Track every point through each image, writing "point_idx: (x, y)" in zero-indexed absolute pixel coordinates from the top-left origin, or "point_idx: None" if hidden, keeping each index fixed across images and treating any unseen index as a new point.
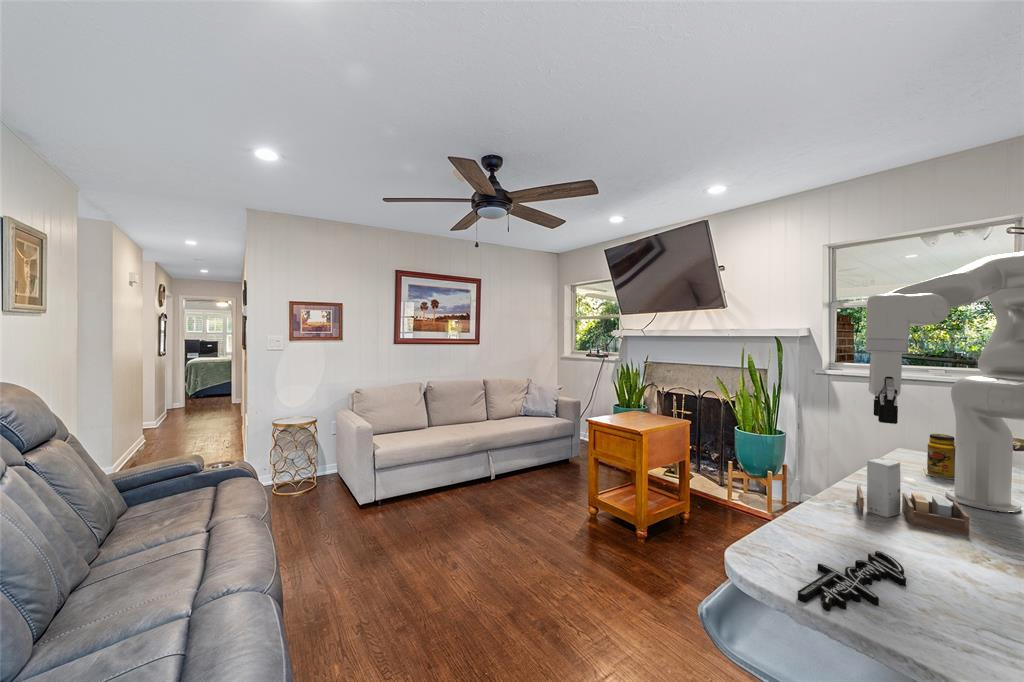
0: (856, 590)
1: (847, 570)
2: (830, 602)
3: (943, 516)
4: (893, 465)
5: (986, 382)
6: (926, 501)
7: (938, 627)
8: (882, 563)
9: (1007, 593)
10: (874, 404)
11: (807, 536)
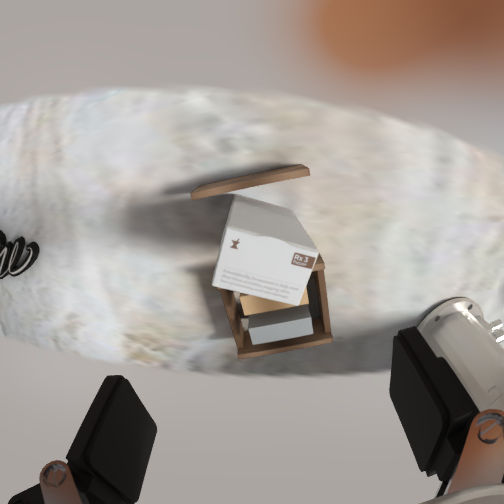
0: None
1: None
2: None
3: (234, 324)
4: (248, 293)
5: None
6: (253, 311)
7: None
8: (9, 256)
9: (74, 350)
10: (435, 386)
11: (23, 155)
